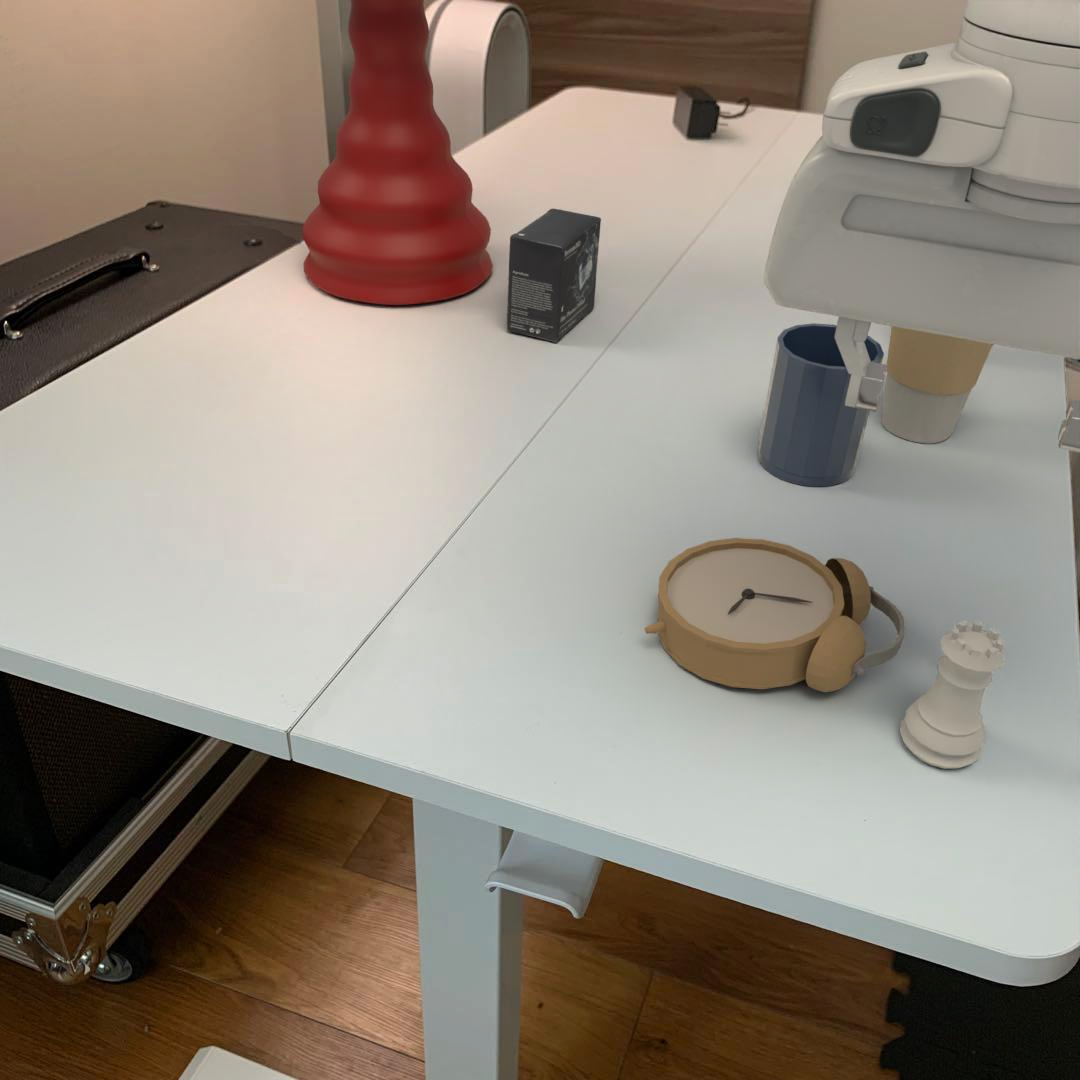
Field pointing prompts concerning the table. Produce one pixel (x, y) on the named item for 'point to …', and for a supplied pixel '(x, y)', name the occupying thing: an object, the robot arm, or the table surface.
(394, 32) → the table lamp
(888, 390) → the coffee cup
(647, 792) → the table surface
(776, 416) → the tumbler
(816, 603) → the alarm clock
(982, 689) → the rook chess piece
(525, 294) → the box
